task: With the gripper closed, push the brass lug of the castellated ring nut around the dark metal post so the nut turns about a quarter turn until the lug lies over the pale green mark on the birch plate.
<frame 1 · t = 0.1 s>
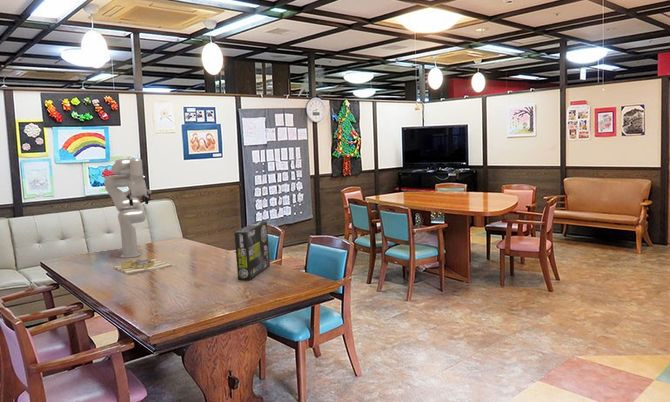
hand: (139, 204, 338), 37 cm above the table, tool pointing down, fingers open, 9 cm apart
ring nut: (137, 262, 321), point 4 cm above the table, hinge at 0.0°
box: (254, 273, 298), on the table
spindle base: (142, 267, 323), on the table
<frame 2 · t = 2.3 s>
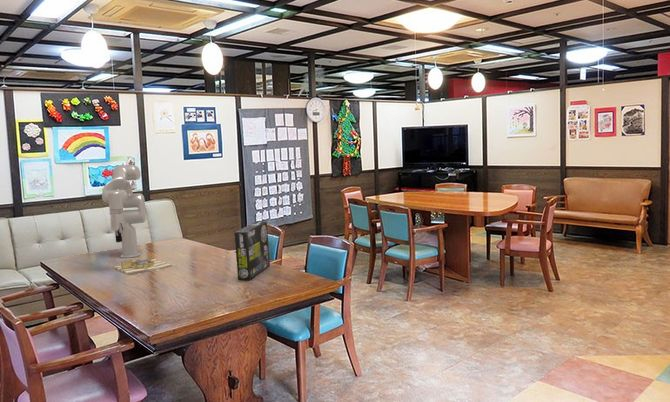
hand: (119, 241, 319), 17 cm above the table, tool pointing down, fingers closed
nothing on the table moved.
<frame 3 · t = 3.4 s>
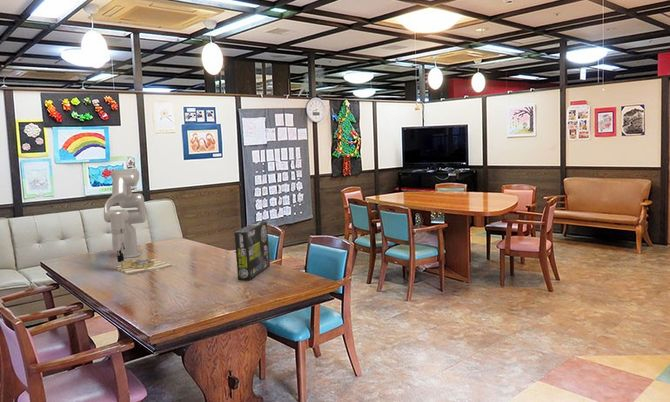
hand: (120, 261, 320), 5 cm above the table, tool pointing down, fingers closed
nothing on the table moved.
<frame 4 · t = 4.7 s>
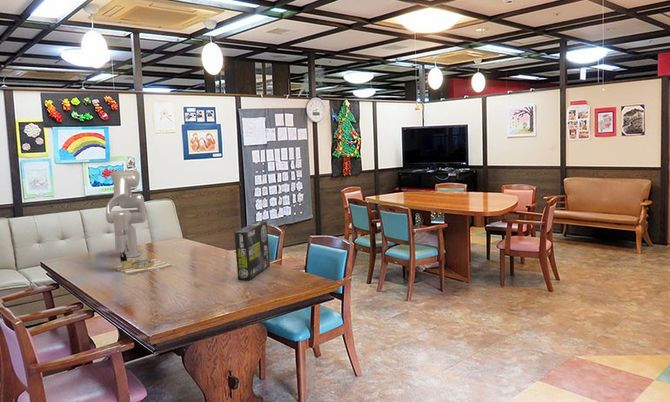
hand: (124, 262, 318), 4 cm above the table, tool pointing down, fingers closed
ring nut: (138, 262, 321), point 4 cm above the table, hinge at 5.0°, touching gripper
everything else where it was.
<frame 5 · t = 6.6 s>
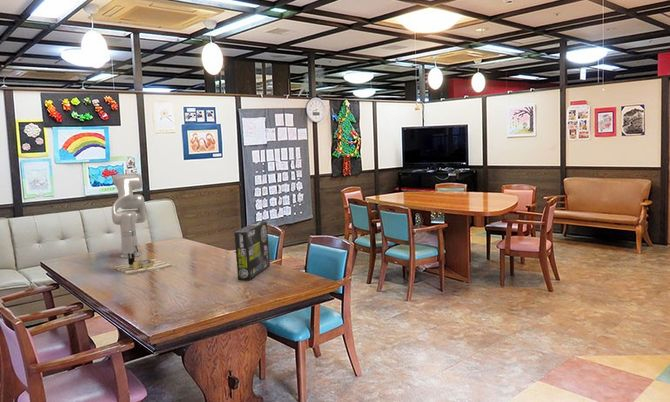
hand: (131, 264, 314), 4 cm above the table, tool pointing down, fingers closed
ring nut: (140, 262, 320), point 4 cm above the table, hinge at 51.8°, touching gripper
everything else where it was.
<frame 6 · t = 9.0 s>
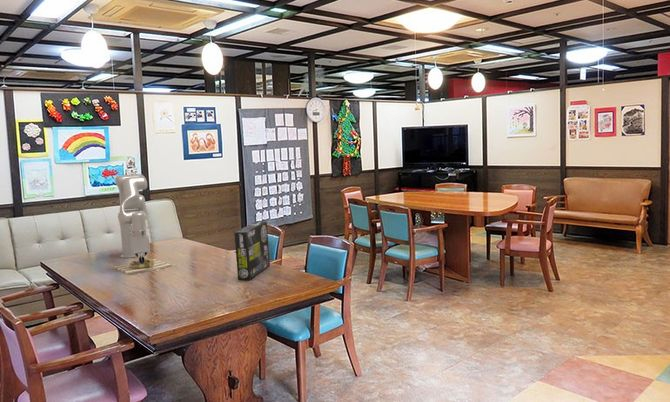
hand: (142, 263, 314), 4 cm above the table, tool pointing down, fingers closed
ring nut: (143, 261, 321), point 4 cm above the table, hinge at 96.2°
everything else where it was.
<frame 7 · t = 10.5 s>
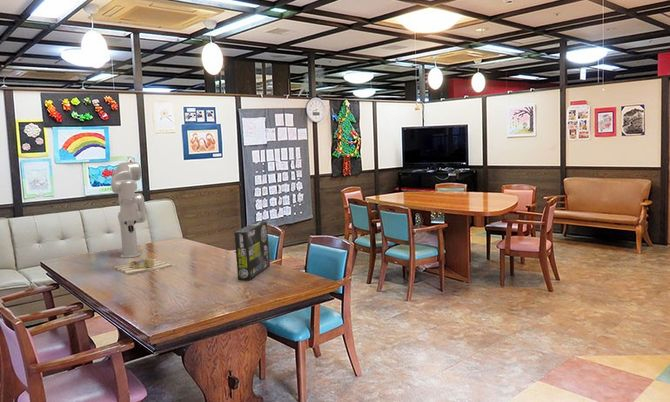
hand: (131, 232, 314), 23 cm above the table, tool pointing down, fingers closed
nothing on the table moved.
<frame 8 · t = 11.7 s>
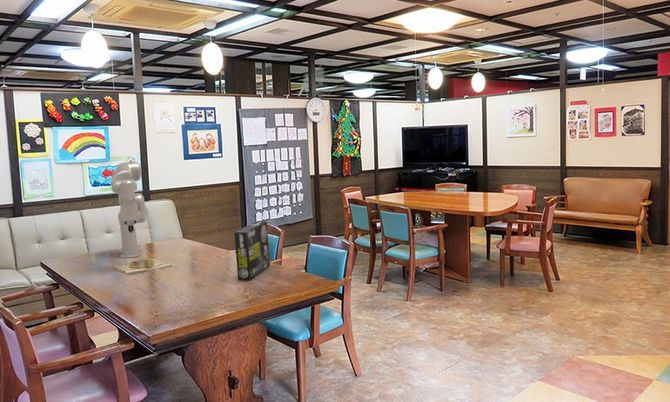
hand: (131, 232, 314), 23 cm above the table, tool pointing down, fingers closed
nothing on the table moved.
at the end: ring nut at +96° (first picture: +0°) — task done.
